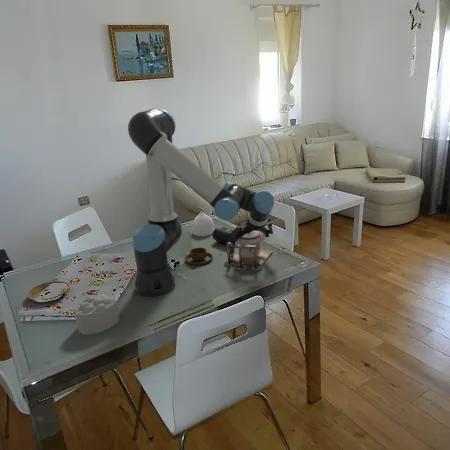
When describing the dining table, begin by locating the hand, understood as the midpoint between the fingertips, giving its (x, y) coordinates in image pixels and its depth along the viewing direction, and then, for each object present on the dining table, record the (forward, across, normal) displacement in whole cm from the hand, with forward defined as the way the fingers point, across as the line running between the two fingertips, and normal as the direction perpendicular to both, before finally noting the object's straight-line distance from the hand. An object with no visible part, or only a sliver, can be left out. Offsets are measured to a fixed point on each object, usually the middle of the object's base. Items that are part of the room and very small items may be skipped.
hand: (249, 241), depth 180 cm
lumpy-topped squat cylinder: (-21, -62, -31) cm, 72 cm away
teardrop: (+30, -15, +20) cm, 39 cm away
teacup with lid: (+1, 0, -5) cm, 5 cm away
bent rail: (-4, -6, -12) cm, 14 cm away
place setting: (+5, -19, -5) cm, 20 cm away
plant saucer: (-3, -82, -12) cm, 83 cm away
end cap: (+17, -7, +7) cm, 20 cm away
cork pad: (+2, 0, -6) cm, 7 cm away
